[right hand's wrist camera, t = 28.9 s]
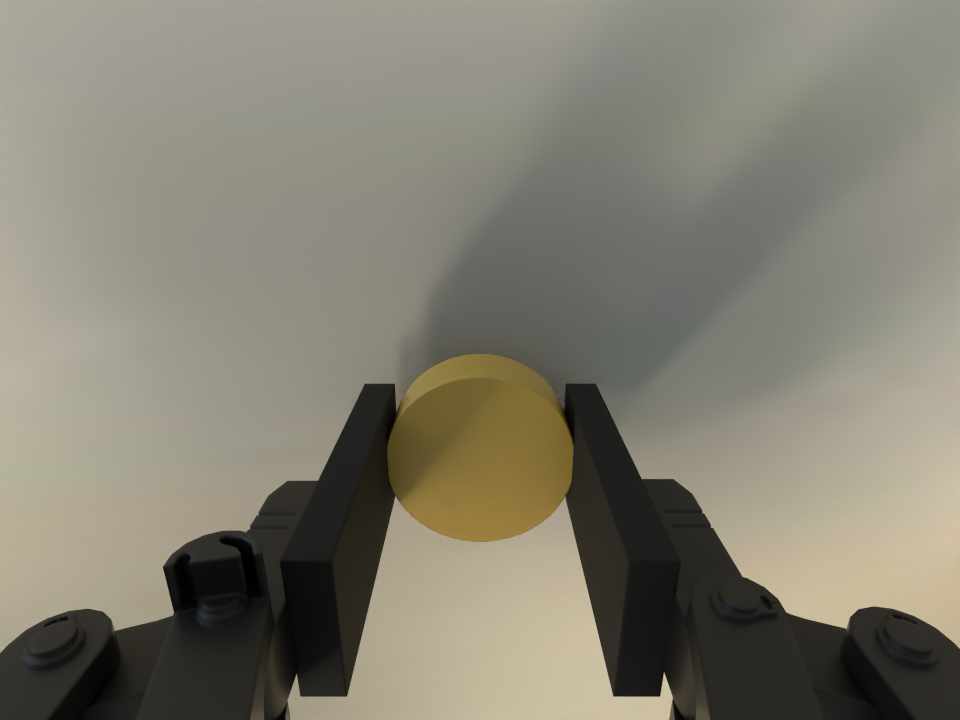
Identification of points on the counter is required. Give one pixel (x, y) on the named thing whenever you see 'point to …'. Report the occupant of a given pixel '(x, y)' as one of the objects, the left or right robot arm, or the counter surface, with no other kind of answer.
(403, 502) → the cap
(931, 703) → the right robot arm
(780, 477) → the counter surface
